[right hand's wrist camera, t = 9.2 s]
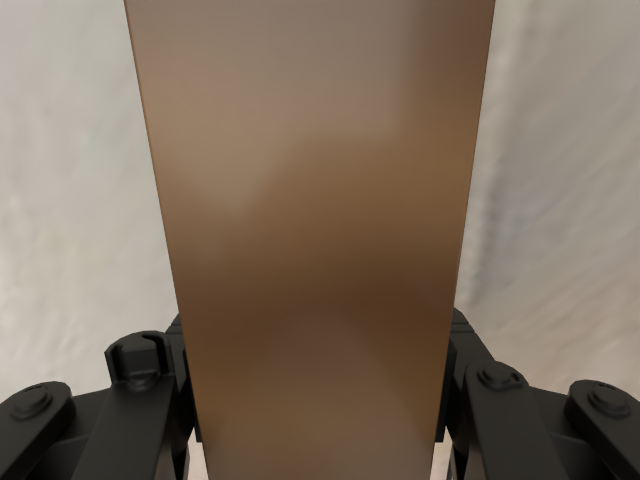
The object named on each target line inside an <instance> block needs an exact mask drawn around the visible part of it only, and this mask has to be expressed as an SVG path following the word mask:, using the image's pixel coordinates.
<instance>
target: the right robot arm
mask: <svg viewBox="0 0 640 480" xmlns="http://www.w3.org/2000/svg"><path fill="white" fill-rule="evenodd" d="M104 354H105V358H106V362H107V366H108V370H109V374H110V378H111V382H112V385H111V387H110V388H107V389H104V390H100V391H96V392H91V393H87V394H83V395H78V396H74V397H73V396H72V393H71V390H70V387H69V386H68V385H66V384H65V383H63V382H57V381H52V382H44V383H40V384H36V385H33V386H30V387H27V388H25V389H23V390H21V391H19V392H17V393H15V394H13V395H12V396H10V397H9V398H8V399H6V400H5V401H4V402H2V403H1V404H0V480H187V479H188V470H189V461H190V455H189V448H188V440H189V438H190V435H191V433H192V430H193V428H194V429H195V435H196V441H197V442H202V439H201V434H200V428H199V422H198V417H197V411H196V406H195V400H194V394H193V389H192V383H191V377H190V372H189V366H188V360H187V355H186V349H185V344H184V338H183V332H182V327H181V321H180V315H179V313H178V315H177V316H176V318H175V319H174V320H173V322H172V323H171V326H169V328H168V329H167V331H166V332H165V333H163V332H159V331H141V332H137V333H132V334H130V335H127V336H125V337H123V338H120V339H119V340H117V341H116V342H114V343H113V344H111V345H110V346H109V347H108V349H107V350H106V351H105V352H104ZM445 427H447V429H448V432H449V434H450V437H451V439H452V448H451V454H450V460H449V465H448V471H447V479H446V480H452V478H453V480H640V402H639V401H638V400H636V399H635V398H633V397H632V396H631V395H629V394H628V393H626V392H624V391H622V390H620V389H618V388H616V387H614V386H612V385H609V384H606V383H603V382H600V381H593V380H580V381H575V382H574V383H573V384H572V385H571V386H570V388H569V392H568V395H564V394H560V393H555V392H551V391H546V390H542V389H538V388H534V387H531V386H529V384H528V382H527V381H526V379H525V378H524V377H523V375H522V374H520V373H519V372H518V371H516V370H515V369H514V368H512V367H510V366H508V365H506V364H504V363H502V362H498V361H495V360H494V358H493V357H492V355H491V354H490V352H489V351H488V350H487V348H486V347H485V345H484V344H483V342H482V341H481V339H480V338H479V337H478V335H477V334H476V333H475V331H474V329H473V328H472V327H471V325H469V322H468V321H467V319H466V318H465V317H464V315H463V314H462V312H460V311H459V310H457V309H456V308H454V307H453V314H452V321H451V329H450V336H449V343H448V351H447V358H446V365H445V372H444V380H443V387H442V394H441V402H440V409H439V416H438V424H437V431H436V438H435V442H443V440H444V433H445Z"/></svg>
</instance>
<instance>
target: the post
mask: <svg viewBox="0 0 640 480" xmlns="http://www.w3.org/2000/svg"><path fill="white" fill-rule="evenodd" d="M124 5H125V11H126V16H127V22H128V28H129V33H130V39H131V45H132V50H133V56H134V62H135V67H136V73H137V78H138V84H139V90H140V95H141V101H142V107H143V112H144V118H145V124H146V129H147V135H148V141H149V146H150V152H151V157H152V163H153V169H154V174H155V180H156V186H157V191H158V197H159V203H160V208H161V214H162V219H163V225H164V231H165V236H166V242H167V248H168V253H169V259H170V265H171V270H172V276H173V281H174V287H175V293H176V298H177V304H178V310H179V315H180V321H181V327H182V332H183V338H184V344H185V349H186V355H187V360H188V366H189V372H190V377H191V383H192V389H193V394H194V400H195V406H196V411H197V417H198V422H199V428H200V434H201V439H202V445H203V451H204V456H205V462H206V468H207V473H208V479H209V480H430V475H431V467H432V460H433V453H434V445H435V438H436V431H437V424H438V416H439V409H440V402H441V394H442V387H443V380H444V372H445V365H446V358H447V351H448V343H449V336H450V329H451V321H452V314H453V307H454V299H455V292H456V285H457V278H458V270H459V263H460V256H461V248H462V241H463V234H464V226H465V219H466V212H467V205H468V197H469V190H470V183H471V175H472V168H473V161H474V153H475V146H476V139H477V132H478V124H479V117H480V110H481V102H482V95H483V88H484V80H485V73H486V66H487V59H488V51H489V44H490V37H491V29H492V22H493V15H494V7H495V0H124Z"/></svg>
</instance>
